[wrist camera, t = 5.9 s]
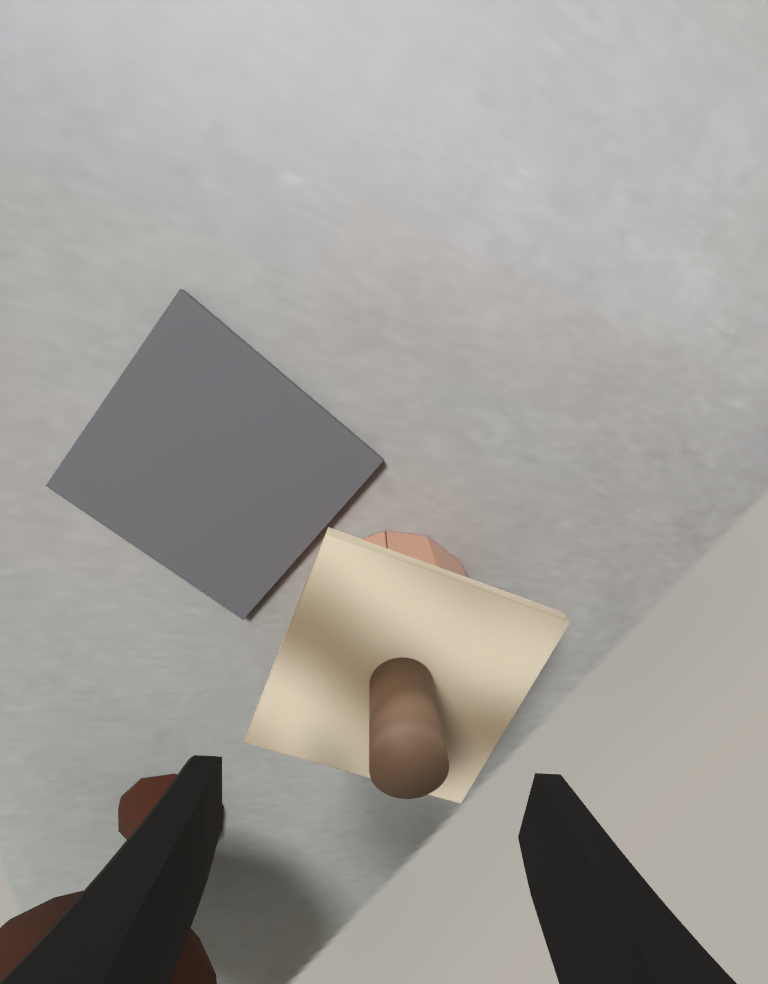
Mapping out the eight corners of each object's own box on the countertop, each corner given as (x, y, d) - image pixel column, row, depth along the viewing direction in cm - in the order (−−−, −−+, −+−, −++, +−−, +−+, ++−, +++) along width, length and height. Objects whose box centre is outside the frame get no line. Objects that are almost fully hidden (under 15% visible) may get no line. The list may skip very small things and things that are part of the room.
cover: (328, 527, 14) (312, 586, 10) (562, 612, 15) (624, 693, 11) (248, 728, 16) (212, 837, 12) (457, 788, 17) (481, 904, 13)
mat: (185, 290, 16) (180, 288, 15) (383, 458, 18) (383, 460, 17) (52, 483, 18) (45, 485, 17) (245, 614, 20) (243, 619, 19)
